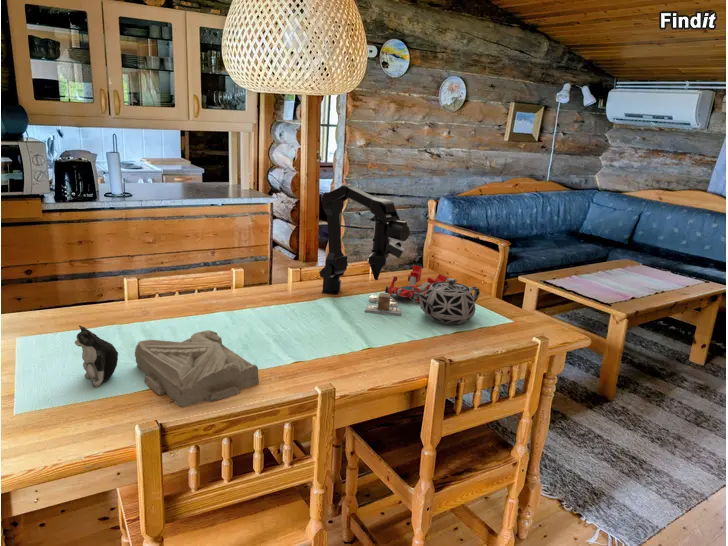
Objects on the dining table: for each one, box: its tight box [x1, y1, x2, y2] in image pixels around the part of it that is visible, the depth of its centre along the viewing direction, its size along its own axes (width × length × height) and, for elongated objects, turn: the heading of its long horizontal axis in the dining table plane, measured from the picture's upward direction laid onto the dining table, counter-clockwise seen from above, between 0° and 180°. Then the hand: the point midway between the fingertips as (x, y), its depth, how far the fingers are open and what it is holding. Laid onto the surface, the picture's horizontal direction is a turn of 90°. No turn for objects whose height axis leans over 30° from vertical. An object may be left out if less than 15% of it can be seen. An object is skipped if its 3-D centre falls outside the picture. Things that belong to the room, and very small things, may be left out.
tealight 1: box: [368, 294, 379, 304], centre depth 215 cm, size 4×4×3 cm
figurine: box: [74, 324, 119, 388], centre depth 141 cm, size 10×10×15 cm
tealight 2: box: [389, 300, 399, 307], centre depth 210 cm, size 4×4×3 cm
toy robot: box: [384, 264, 448, 303], centre depth 227 cm, size 18×10×30 cm
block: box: [377, 292, 391, 310], centre depth 205 cm, size 4×4×5 cm
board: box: [364, 303, 403, 317], centre depth 206 cm, size 13×6×1 cm, turn 83°
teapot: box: [414, 277, 481, 325], centre depth 200 cm, size 19×31×15 cm, turn 123°
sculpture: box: [134, 329, 259, 408], centre depth 148 cm, size 25×31×9 cm
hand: (377, 276), depth 206 cm, fingers open, 9 cm apart
